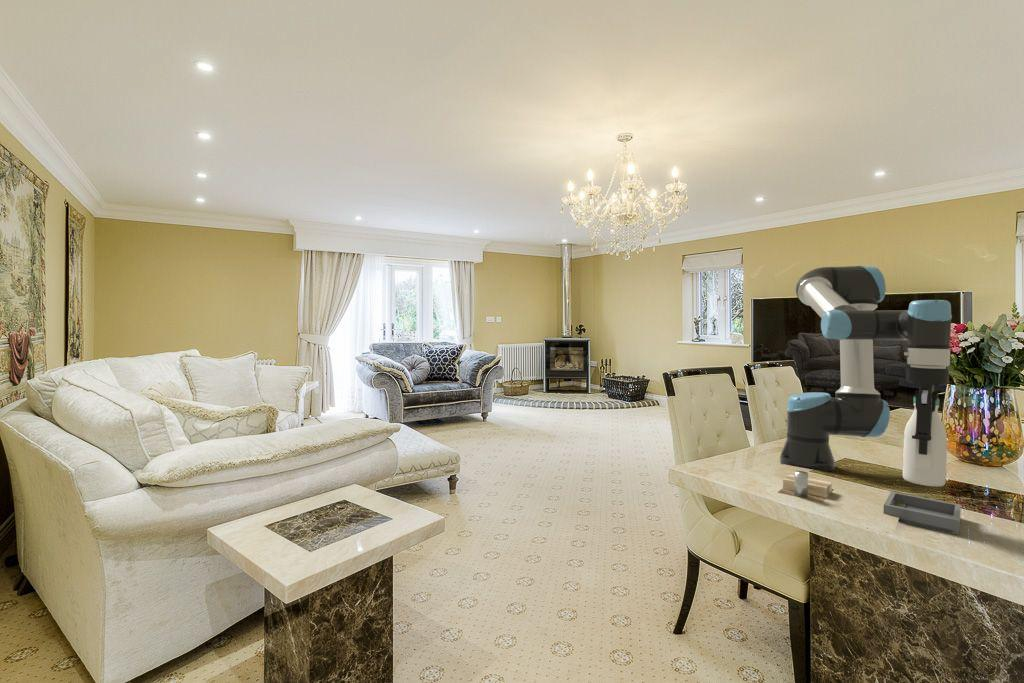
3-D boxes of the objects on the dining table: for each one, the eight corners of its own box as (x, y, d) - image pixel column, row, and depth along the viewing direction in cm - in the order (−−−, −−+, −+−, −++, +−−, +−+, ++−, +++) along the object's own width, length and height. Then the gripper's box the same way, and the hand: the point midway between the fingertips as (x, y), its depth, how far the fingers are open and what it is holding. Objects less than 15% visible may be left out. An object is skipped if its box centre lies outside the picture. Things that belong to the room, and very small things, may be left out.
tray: (890, 503, 123) (891, 491, 123) (960, 518, 114) (960, 504, 114) (883, 518, 114) (883, 504, 114) (958, 535, 105) (959, 520, 105)
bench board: (791, 484, 137) (792, 480, 137) (833, 493, 130) (833, 489, 130) (777, 496, 128) (777, 492, 128) (821, 506, 121) (821, 502, 121)
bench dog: (795, 492, 127) (796, 470, 127) (808, 495, 125) (809, 472, 125) (792, 495, 125) (793, 472, 125) (805, 498, 123) (806, 475, 123)
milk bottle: (954, 488, 109) (957, 399, 108) (914, 486, 111) (917, 398, 110) (931, 478, 117) (934, 395, 116) (895, 475, 118) (897, 394, 118)
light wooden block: (789, 483, 135) (789, 474, 135) (831, 492, 128) (831, 482, 128) (782, 488, 131) (783, 479, 131) (826, 497, 124) (826, 488, 124)
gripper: (911, 363, 123) (908, 453, 123) (901, 368, 108) (898, 470, 109) (951, 365, 117) (947, 459, 118) (947, 370, 103) (943, 477, 103)
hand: (924, 464), depth 113 cm, fingers closed on milk bottle, 7 cm apart
